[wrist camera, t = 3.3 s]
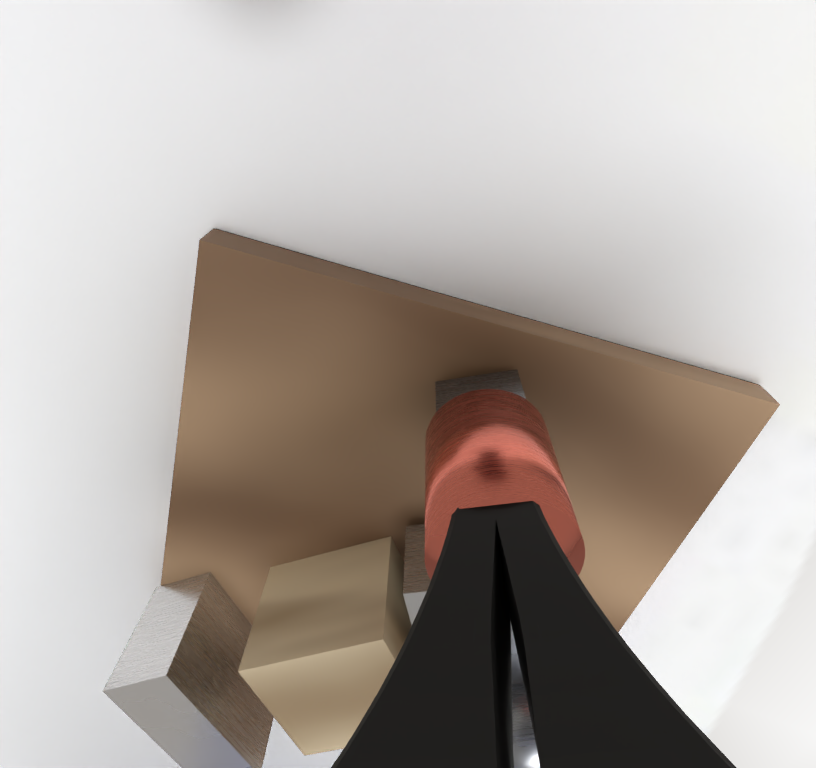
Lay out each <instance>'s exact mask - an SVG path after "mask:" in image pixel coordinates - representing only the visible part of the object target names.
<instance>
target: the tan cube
mask: <svg viewBox="0 0 816 768" xmlns="http://www.w3.org/2000/svg"><path fill="white" fill-rule="evenodd" d="M403 580H404V561H403V559H402V557H401V555H400V553H399V551H398V549H397V547H396V545H395V543H394V541H393V539H392V537H391V536H390V537H386V538H382V539H378V540H374V541H371V542H367V543H363V544H359V545H355V546H351V547H347V548H343V549H339V550H336V551H332V552H328V553H324V554H320V555H316V556H312V557H308V558H304V559H300V560H297V561H293V562H289V563H285V564H281V565H277V566H273V567H270V570H269V573H268V576H267V580H266V583H265V586H264V589H263V592H262V596H261V599H260V602H259V605H258V608H257V612H256V615H255V618H254V621H253V624H252V628H251V631H250V634H249V637H248V641H247V644H246V647H245V650H244V653H243V657H242V660H241V663H240V666H239V669H238V672H239V673H240V675H241V676H242V677H243V678H244V680H245V681H246V682H247V684H248V685H249V686H250V687H251V689H252V690H253V691H254V692H255V694H256V695H257V696H258V697H259V699H260V700H261V701H262V702H263V704H264V705H265V706H266V708H267V709H268V710H269V711H270V713H271V714H272V715H273V716H274V718H275V719H276V720H277V721H278V723H279V724H280V725H281V726H282V728H283V729H284V730H285V732H286V733H287V734H288V735H289V737H290V738H291V739H292V740H293V742H294V743H295V744H296V745H297V747H298V748H299V749H300V750H301V752H302V753H303V754H304V755H310V754H316V753H321V752H327V751H332V750H337V749H343V748H345V746H346V745H347V743H348V741H349V740H350V738H351V737H352V735H353V733H354V732H355V730H356V729H357V727H358V725H359V724H360V722H361V720H362V718H363V717H364V715H365V713H366V712H367V710H368V708H369V707H370V705H371V703H372V702H373V700H374V698H375V697H376V695H377V693H378V691H379V690H380V688H381V686H382V684H383V682H384V680H385V678H386V677H387V675H388V673H389V671H390V669H391V667H392V665H393V664H394V662H395V660H396V658H397V656H398V654H399V652H400V650H401V648H402V646H403V644H404V642H405V639H406V637H407V635H408V633H409V631H410V629H411V626H412V625H411V621H410V618H409V614H408V611H407V607H406V603H405V600H404V596H403Z"/></svg>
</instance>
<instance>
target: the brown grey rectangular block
mask: <svg viewBox="0 0 816 768" xmlns="http://www.w3.org/2000/svg"><path fill="white" fill-rule="evenodd" d="M251 628H252V625H251V623H250V622H249V621H248V619H247V618H246V617H245V616H244V614H243V613H242V612H241V610H240V609H239V608H238V607H237V605H236V604H235V603H234V601H233V600H232V599H231V598H230V596H229V595H228V594H227V592H226V591H225V590H224V589H223V587H222V586H221V585H220V583H219V582H218V581H217V580H216V578H215V577H214V576H213V574H212V573H211V572H207V573H204V574H200V575H197V576H193V577H190V578H186V579H183V580H179V581H176V582H172V583H169V584H165V585H162V586H159V587H156V589H155V591H154V593H153V595H152V597H151V599H150V601H149V603H148V605H147V607H146V608H145V610H144V612H143V614H142V616H141V618H140V620H139V622H138V624H137V626H136V628H135V630H134V632H133V634H132V636H131V637H130V639H129V641H128V643H127V645H126V647H125V649H124V651H123V653H122V655H121V657H120V659H119V661H118V663H117V665H116V666H115V668H114V670H113V672H112V674H111V676H110V678H109V680H108V682H107V684H106V686H105V688H104V690H103V692H104V693H105V694H106V695H107V696H108V697H109V698H110V699H111V700H112V701H113V702H114V703H115V704H116V705H117V706H119V707H120V708H121V709H122V710H123V711H124V712H125V713H126V714H127V715H128V716H129V717H130V718H131V719H132V720H133V721H134V722H135V723H136V724H137V725H138V726H139V727H140V728H141V729H142V730H143V731H144V732H146V733H147V734H148V735H149V736H150V737H151V738H152V739H153V740H154V741H155V742H156V743H157V744H158V745H159V746H160V747H161V748H162V749H163V750H164V751H165V752H166V753H167V754H168V755H169V756H170V757H171V758H172V759H174V760H175V761H176V762H177V763H178V764H179V765H180V766H181V767H182V768H262V764H263V760H264V755H265V751H266V747H267V743H268V738H269V734H270V730H271V726H272V721H273V717H274V716H273V715H272V714H271V713H270V711H269V710H268V709H267V708H266V706H265V705H264V704H263V702H262V701H261V700H260V699H259V697H258V696H257V695H256V694H255V692H254V691H253V690H252V689H251V687H250V686H249V685H248V684H247V682H246V681H245V680H244V678H243V677H242V676H241V675H240V673H239V672H238V669H239V666H240V663H241V660H242V657H243V653H244V650H245V647H246V644H247V641H248V637H249V634H250V631H251Z"/></svg>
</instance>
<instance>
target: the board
mask: <svg viewBox="0 0 816 768" xmlns="http://www.w3.org/2000/svg"><path fill="white" fill-rule="evenodd" d="M515 369H517V370H518V374H519V377H520V381H521V384H522V387H523V391H524V394H525V398H526V400H527V401H529V402H530V403H531V404H532V405H533V406H534V407H535V408H536V409H537V410H538V411H539V412H540V414H541V415H542V417H543V419H544V421H545V424H546V427H547V430H548V433H549V436H550V439H551V442H552V446H553V449H554V452H555V455H556V458H557V461H558V464H559V467H560V470H561V473H562V476H563V479H564V482H565V485H566V488H567V491H568V495H569V498H570V501H571V504H572V507H573V510H574V513H575V516H576V519H577V522H578V525H579V528H580V531H581V534H582V537H583V540H584V545H585V560H584V564H583V567H582V570H581V572H580V574H579V578H580V579H581V581H582V582H583V584H584V585H585V587H586V588H587V590H588V591H589V593H590V594H591V596H592V597H593V599H594V600H595V602H596V603H597V604H598V606H599V607H600V609H601V610H602V611H603V613H604V614H605V616H606V617H607V618H608V620H609V621H610V623H611V624H612V625H613V627H614V628H615V629H616V631H617V632H619V631H620V629H621V628H622V626H623V625H624V623H625V622H626V621H627V619H628V618H629V616H630V615H631V614H632V612H633V611H634V609H635V608H636V607H637V605H638V604H639V602H640V601H641V600H642V598H643V597H644V595H645V594H646V592H647V591H648V590H649V588H650V587H651V585H652V584H653V583H654V581H655V580H656V578H657V577H658V576H659V574H660V573H661V571H662V570H663V569H664V567H665V566H666V564H667V563H668V562H669V560H670V559H671V557H672V556H673V554H674V553H675V552H676V550H677V549H678V547H679V546H680V545H681V543H682V542H683V540H684V539H685V538H686V536H687V535H688V533H689V532H690V531H691V529H692V528H693V526H694V525H695V523H696V522H697V521H698V519H699V518H700V516H701V515H702V514H703V512H704V511H705V509H706V508H707V507H708V505H709V504H710V502H711V501H712V500H713V498H714V497H715V495H716V494H717V493H718V491H719V490H720V488H721V487H722V485H723V484H724V483H725V481H726V480H727V478H728V477H729V476H730V474H731V473H732V471H733V470H734V469H735V467H736V466H737V464H738V463H739V462H740V460H741V459H742V457H743V456H744V454H745V453H746V452H747V450H748V449H749V447H750V446H751V445H752V443H753V442H754V440H755V439H756V438H757V436H758V435H759V433H760V432H761V431H762V429H763V428H764V426H765V425H766V423H767V422H768V421H769V419H770V418H771V416H772V415H773V414H774V412H775V411H776V409H777V408H778V407H779V405H780V404H779V403H778V402H777V401H776V400H775V399H774V398H773V397H772V396H771V395H770V394H769V393H768V392H767V391H765V390H764V389H763V388H762V387H761V386H760V385H758V384H754V383H751V382H747V381H744V380H740V379H737V378H733V377H730V376H726V375H723V374H719V373H716V372H712V371H709V370H705V369H702V368H698V367H695V366H691V365H688V364H684V363H681V362H677V361H674V360H670V359H667V358H663V357H660V356H657V355H653V354H650V353H646V352H643V351H639V350H636V349H632V348H629V347H625V346H622V345H618V344H615V343H611V342H608V341H604V340H601V339H597V338H594V337H590V336H587V335H583V334H580V333H576V332H573V331H569V330H566V329H562V328H559V327H555V326H552V325H548V324H545V323H542V322H538V321H535V320H531V319H528V318H524V317H521V316H517V315H514V314H510V313H507V312H503V311H500V310H496V309H493V308H489V307H486V306H482V305H479V304H475V303H472V302H468V301H465V300H461V299H458V298H454V297H451V296H447V295H444V294H440V293H437V292H433V291H430V290H426V289H423V288H420V287H416V286H413V285H409V284H406V283H402V282H399V281H395V280H392V279H388V278H385V277H381V276H378V275H374V274H371V273H367V272H364V271H360V270H357V269H353V268H350V267H346V266H343V265H339V264H336V263H332V262H329V261H325V260H322V259H318V258H315V257H311V256H308V255H305V254H301V253H298V252H294V251H291V250H287V249H284V248H280V247H277V246H273V245H270V244H266V243H263V242H259V241H256V240H252V239H249V238H245V237H242V236H238V235H235V234H231V233H228V232H224V231H221V230H217V229H213V230H212V231H210V232H209V233H208V234H206V235H205V236H204V237H203V238H201V239H200V241H199V250H198V259H197V268H196V277H195V286H194V295H193V304H192V312H191V321H190V330H189V339H188V348H187V357H186V366H185V375H184V384H183V393H182V402H181V410H180V419H179V428H178V437H177V446H176V455H175V464H174V473H173V482H172V491H171V500H170V508H169V517H168V526H167V535H166V544H165V553H164V562H163V571H162V580H161V586H162V585H165V584H169V583H172V582H176V581H179V580H183V579H186V578H190V577H193V576H197V575H200V574H204V573H207V572H211V573H212V574H213V576H214V577H215V578H216V580H217V581H218V582H219V583H220V585H221V586H222V587H223V589H224V590H225V591H226V592H227V594H228V595H229V596H230V598H231V599H232V600H233V601H234V603H235V604H236V605H237V607H238V608H239V609H240V610H241V612H242V613H243V614H244V616H245V617H246V618H247V619H248V621H249V622H250V623H251V625H252V624H253V621H254V618H255V615H256V612H257V608H258V605H259V602H260V599H261V596H262V592H263V589H264V586H265V583H266V580H267V576H268V573H269V570H270V567H273V566H277V565H281V564H285V563H289V562H293V561H297V560H300V559H304V558H308V557H312V556H316V555H320V554H324V553H328V552H332V551H336V550H339V549H343V548H347V547H351V546H355V545H359V544H363V543H367V542H371V541H374V540H378V539H382V538H386V537H390V536H391V537H392V539H393V541H394V543H395V545H396V547H397V549H398V551H399V553H400V555H401V557H402V559H403V561H404V559H405V538H406V526H413V525H421V524H425V437H426V432H427V428H428V425H429V423H430V421H431V419H432V418H433V416H434V415H435V413H436V391H435V382H436V381H443V380H449V379H456V378H462V377H469V376H475V375H482V374H489V373H495V372H502V371H508V370H515Z"/></svg>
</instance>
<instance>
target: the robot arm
mask: <svg viewBox="0 0 816 768" xmlns="http://www.w3.org/2000/svg"><path fill="white" fill-rule="evenodd" d="M511 625H512V630H513V635H514V640H515V645H516V650H517V655H518V660H519V664H520V669H521V674H522V679H523V684H524V689H525V693H526V698H527V703H528V708H529V713H530V718H531V723H532V727H533V732H534V737H535V742H536V747H537V752H538V758H539V764H540V768H736V767H735V766H734V765H733V764H732V763H731V762H730V761H729V759H728V758H727V757H726V756H725V755H724V754H723V753H722V752H721V751H720V750H719V749H718V748H717V747H716V746H715V745H714V744H713V743H712V742H711V740H710V739H709V738H708V737H707V736H706V735H705V734H704V733H703V732H702V731H701V730H700V729H699V728H698V727H697V726H696V725H695V724H694V723H693V721H692V720H691V719H690V718H689V717H688V716H687V715H686V714H685V713H684V712H683V711H682V709H681V708H680V707H679V706H678V705H677V704H676V703H675V701H674V700H673V699H672V698H671V697H670V696H669V695H668V693H667V692H666V691H665V690H664V689H663V688H662V686H661V685H660V684H659V683H658V682H657V681H656V680H655V678H654V677H653V676H652V675H651V673H650V672H649V671H648V670H647V669H646V667H645V666H644V665H643V664H642V663H641V661H640V660H639V659H638V658H637V656H636V655H635V654H634V653H633V651H632V650H631V649H630V648H629V646H628V645H627V644H626V642H625V641H624V640H623V639H622V637H621V636H620V635H619V633H618V632H617V631H616V629H615V628H614V627H613V625H612V624H611V623H610V621H609V620H608V618H607V617H606V616H605V614H604V613H603V611H602V610H601V609H600V607H599V606H598V604H597V603H596V602H595V600H594V599H593V597H592V596H591V594H590V593H589V591H588V590H587V588H586V587H585V585H584V584H583V582H582V581H581V579H580V578H579V576H578V574H577V573H576V571H575V570H574V568H573V567H572V565H571V563H570V562H569V560H568V559H567V557H566V555H565V554H564V552H563V550H562V549H561V547H560V545H559V543H558V542H557V540H556V538H555V536H554V534H553V532H552V530H551V529H550V527H549V525H548V523H547V521H546V519H545V517H544V515H543V512H542V510H541V508H540V505H538V504H537V503H535V502H534V501H525V502H516V503H508V504H499V505H490V506H482V507H473V508H464V509H459V508H457V509H456V511H455V512H454V513H453V514H452V516H451V520H450V524H449V528H448V531H447V535H446V538H445V541H444V544H443V548H442V551H441V554H440V557H439V559H438V562H437V565H436V568H435V570H434V573H433V576H432V579H431V581H430V584H429V587H428V589H427V592H426V594H425V597H424V599H423V601H422V604H421V606H420V608H419V610H418V613H417V615H416V617H415V619H414V622H413V624H412V626H411V629H410V631H409V633H408V635H407V637H406V639H405V642H404V644H403V646H402V648H401V650H400V652H399V654H398V656H397V658H396V660H395V662H394V664H393V665H392V667H391V669H390V671H389V673H388V675H387V677H386V678H385V680H384V682H383V684H382V686H381V688H380V690H379V691H378V693H377V695H376V697H375V698H374V700H373V702H372V703H371V705H370V707H369V708H368V710H367V712H366V713H365V715H364V717H363V718H362V720H361V722H360V724H359V725H358V727H357V729H356V730H355V732H354V733H353V735H352V737H351V738H350V740H349V741H348V743H347V745H346V746H345V748H344V749H343V751H342V752H341V754H340V755H339V757H338V758H337V760H336V761H335V763H334V764H333V766H332V767H331V768H514V757H513V717H512V664H511Z"/></svg>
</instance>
